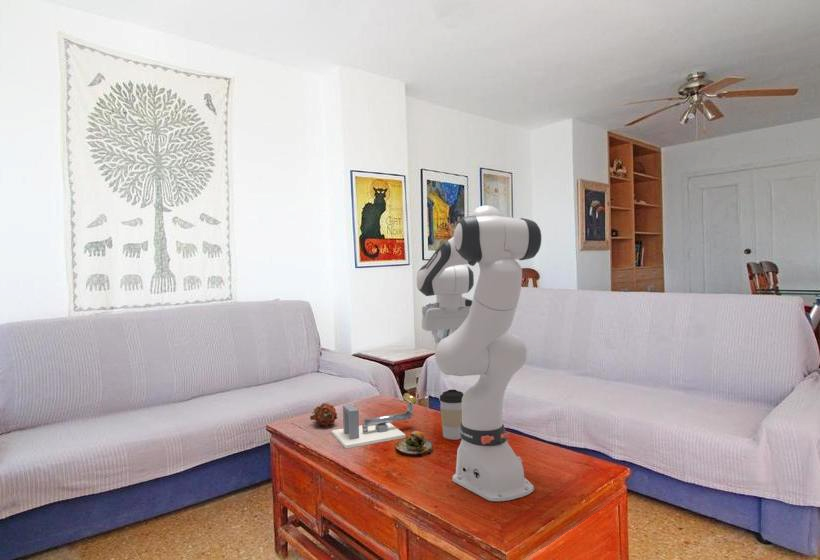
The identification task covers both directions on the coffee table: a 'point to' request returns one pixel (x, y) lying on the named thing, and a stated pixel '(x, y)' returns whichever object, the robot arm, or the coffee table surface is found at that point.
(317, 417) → the dragon fruit
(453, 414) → the coffee cup
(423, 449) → the burger
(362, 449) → the coffee table surface
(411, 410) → the hook
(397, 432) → the board
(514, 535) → the coffee table surface
